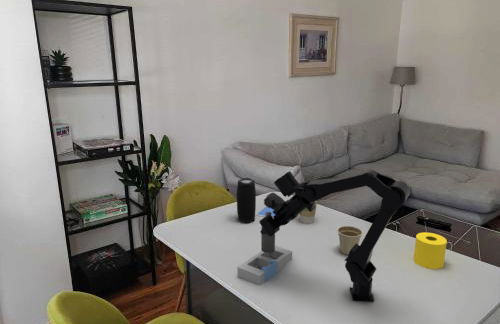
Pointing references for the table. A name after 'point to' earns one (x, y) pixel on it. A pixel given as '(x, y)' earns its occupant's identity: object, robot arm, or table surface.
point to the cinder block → (264, 265)
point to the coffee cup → (308, 215)
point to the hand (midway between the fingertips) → (264, 230)
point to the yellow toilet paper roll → (430, 250)
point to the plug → (267, 240)
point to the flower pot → (348, 238)
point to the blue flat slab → (264, 210)
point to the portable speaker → (246, 200)
